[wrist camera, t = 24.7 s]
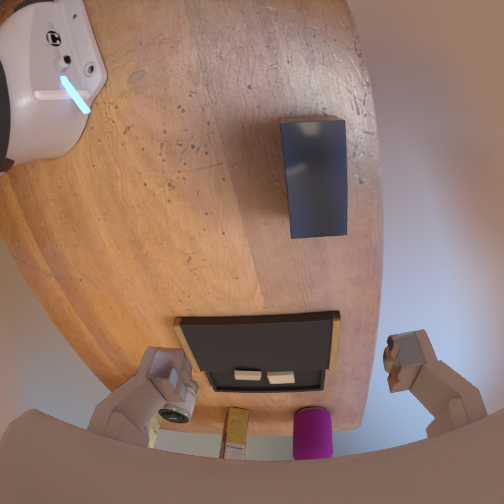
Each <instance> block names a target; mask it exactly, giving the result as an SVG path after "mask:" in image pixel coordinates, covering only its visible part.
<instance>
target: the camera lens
mask: <svg viewBox="0 0 504 504" xmlns="http://www.w3.org/2000/svg"><path fill="white" fill-rule="evenodd" d="M186 386H187V388H188V392H187V396H186V399H185V402H173V401H167V402H166V403H165V405H164V406H163V407H162V408H161V409H160V410H159V411H158V413H159V415H160V416H162V417H163V418H164V419H166V420H168V421H170V422H175V423H187V422H189V421H190V420H191V418H192V413H193V409H194V405H195V401H196V397H197V385H196V384H195V383H194V382H193V381H191V380H190V381H189V382H188V383H187V384H186Z"/></svg>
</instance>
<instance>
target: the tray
mask: <svg viewBox="0 0 504 504" xmlns="http://www.w3.org/2000/svg"><path fill="white" fill-rule="evenodd" d="M205 373H206V375H207V377H208V379H209V381H210V383H211V385H212V387H213V389H214V391H215V392H239V393H280V392H304V391H320V390H323V389H324V380H325V369H321V370H306V371H293V373H294V378H295V383H280V384H271V383H270V381H269V379H268V377H267V372H261V379H260V380H237V379H235V376H234V373H235V372H212V371H205Z"/></svg>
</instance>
